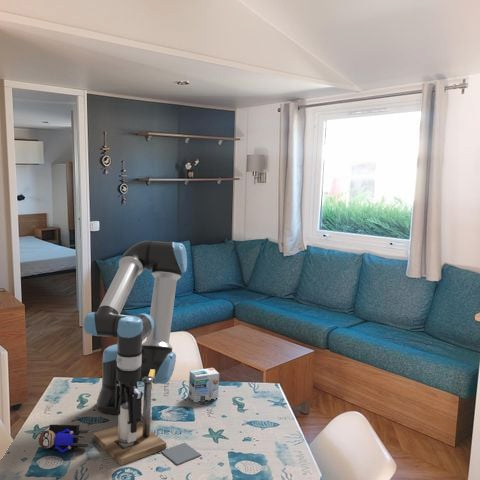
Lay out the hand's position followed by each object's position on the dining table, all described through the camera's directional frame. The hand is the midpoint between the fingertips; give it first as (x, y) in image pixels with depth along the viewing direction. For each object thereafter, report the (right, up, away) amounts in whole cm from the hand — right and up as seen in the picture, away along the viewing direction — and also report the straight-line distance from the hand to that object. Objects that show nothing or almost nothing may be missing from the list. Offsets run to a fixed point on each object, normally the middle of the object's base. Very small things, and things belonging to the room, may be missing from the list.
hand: (126, 437), depth 155 cm
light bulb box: (+21, -1, +41) cm, 46 cm away
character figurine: (-19, -3, -2) cm, 20 cm away
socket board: (0, -4, +3) cm, 5 cm away
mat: (+17, -5, -1) cm, 18 cm away
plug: (0, -4, 0) cm, 4 cm away
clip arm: (+5, +13, +11) cm, 18 cm away
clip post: (+5, -2, +5) cm, 7 cm away
